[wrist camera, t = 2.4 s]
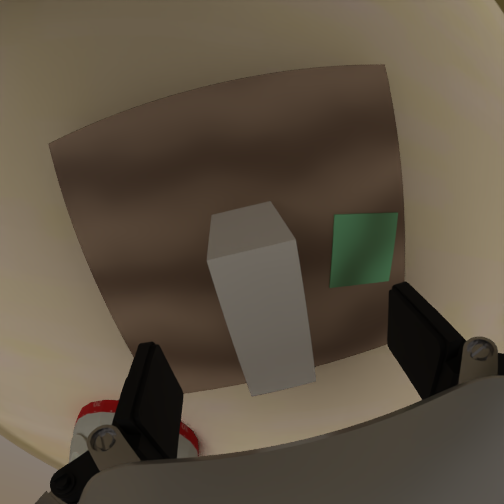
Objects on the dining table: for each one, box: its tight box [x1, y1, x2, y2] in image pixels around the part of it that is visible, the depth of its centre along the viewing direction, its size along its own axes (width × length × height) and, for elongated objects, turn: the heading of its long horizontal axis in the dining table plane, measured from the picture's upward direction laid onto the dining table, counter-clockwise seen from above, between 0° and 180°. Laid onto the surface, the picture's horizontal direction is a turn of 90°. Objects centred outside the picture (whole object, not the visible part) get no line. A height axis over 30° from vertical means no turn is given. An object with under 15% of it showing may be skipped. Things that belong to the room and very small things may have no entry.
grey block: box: [207, 201, 316, 396], centre depth 15 cm, size 12×3×7 cm, turn 12°
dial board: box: [49, 65, 405, 394], centre depth 19 cm, size 20×20×2 cm
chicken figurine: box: [69, 400, 199, 463], centre depth 20 cm, size 14×14×15 cm
